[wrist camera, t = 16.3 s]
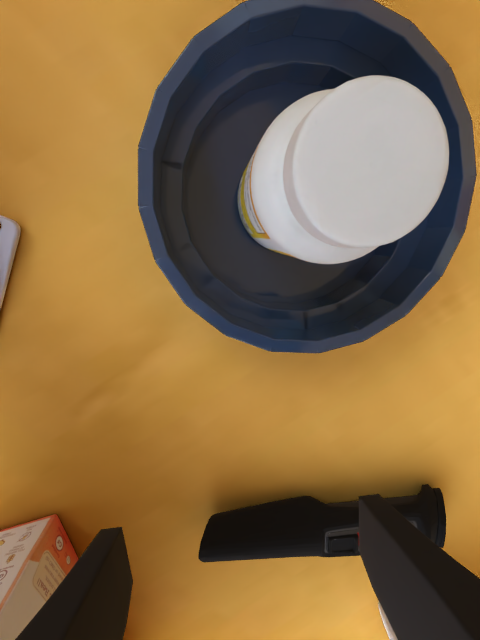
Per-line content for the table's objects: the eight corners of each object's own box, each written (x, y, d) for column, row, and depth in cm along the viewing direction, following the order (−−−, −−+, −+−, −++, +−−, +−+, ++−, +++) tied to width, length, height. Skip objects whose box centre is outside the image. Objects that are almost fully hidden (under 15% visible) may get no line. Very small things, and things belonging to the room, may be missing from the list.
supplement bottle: (215, 208, 18) (217, 178, 8) (283, 118, 17) (367, -22, 8) (295, 274, 19) (374, 314, 10) (362, 193, 18) (519, 148, 9)
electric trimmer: (199, 490, 22) (196, 531, 19) (436, 478, 23) (470, 515, 20) (202, 539, 23) (199, 585, 20) (430, 526, 24) (461, 568, 21)
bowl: (121, 275, 19) (93, 288, 14) (212, -3, 16) (211, -91, 12) (347, 359, 21) (383, 392, 16) (460, 125, 18) (538, 90, 14)
